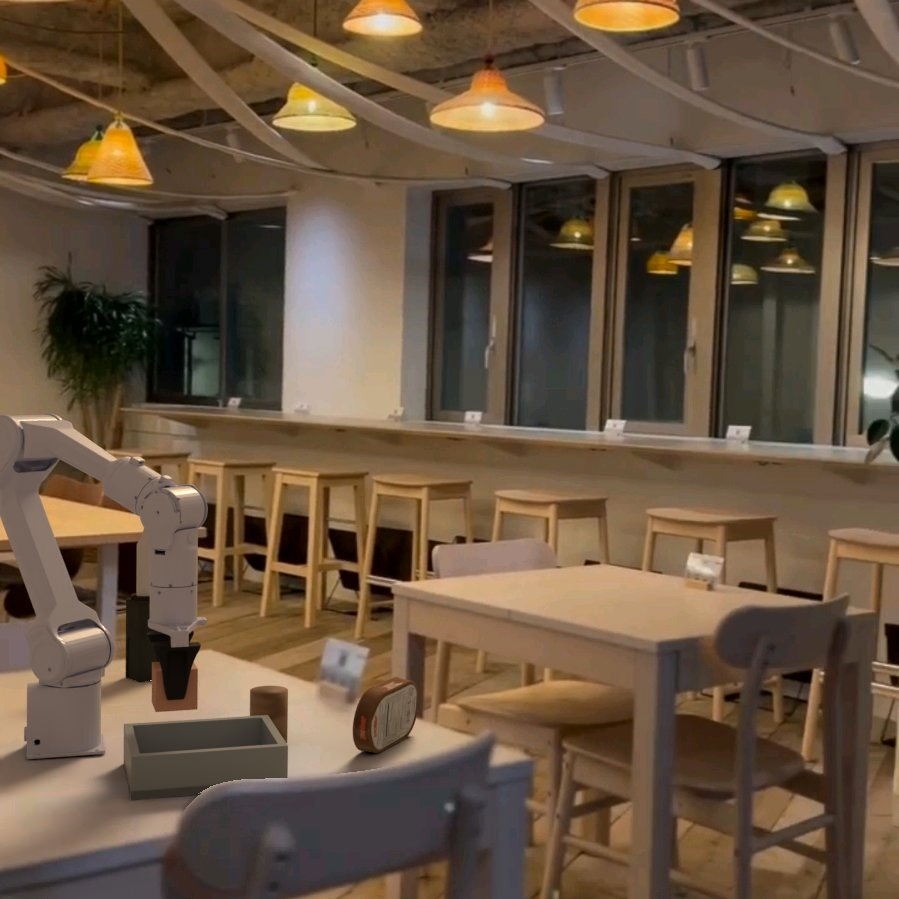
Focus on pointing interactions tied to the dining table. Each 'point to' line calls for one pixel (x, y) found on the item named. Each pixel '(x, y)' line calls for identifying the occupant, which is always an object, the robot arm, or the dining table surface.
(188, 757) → the tote
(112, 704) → the dining table surface
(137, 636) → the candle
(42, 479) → the robot arm
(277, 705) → the walnut cylinder
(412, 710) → the tin
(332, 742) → the dining table surface
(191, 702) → the terracotta cube
